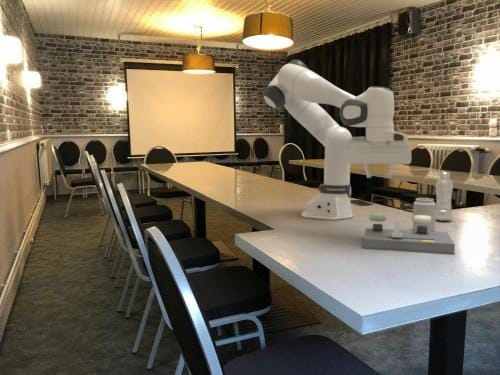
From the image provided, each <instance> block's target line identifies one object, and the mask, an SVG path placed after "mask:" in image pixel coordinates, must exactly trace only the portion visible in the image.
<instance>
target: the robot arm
mask: <svg viewBox="0 0 500 375" xmlns="http://www.w3.org/2000/svg"><path fill="white" fill-rule="evenodd" d="M262 97H263V99H264V101H265V103H266V104H267V105H268V106H270V107H272V108H273V109H275V110H277V109H281V108H283V107H284V108H285V109H286V111H287V112H288V113H289V115H290V116H292V117H293V118H294V119H295V120H296V121H297V123H298V124H300V125H301V126H302V127H303V128H304V129H306V130H307V131H308V132H309V133H310V134H311V135H312V136H313V137H314V138H315V139H316V140H317V141H318V142H320V144H322V146H323V147H324V164H323V168H324V169H323V170H324V171H323V183H321V184H320V185H319V187H318V188H319V189H318V191H319V193H317V194H316V195H315V196H313V197H311V199H310V200H309V201H308V202H307V204H306V208H305V210H304V211H302V212H301V213H300V214H301V217H302V218H306V219H307V218H308V219H319V220H320V219H321V220H330V221H331V220H333V221H335V220H336V221H337V220H338V221H339V220H344V219H350V218H353V217H354V214H353V210H352V203H350V200H351V196H352V185H351V182H350V180H351V165H362V166H363V169H364V171H365V173H366V179H367V178H368V179H369V178H371V179H372V172H371V171H369V169H368V167H369V165H389V168H390V169H389V171H386V173H385V178H387V179H392V173H393V171H394V169H396V168H395V165H410V164H411V163H412V151H411V150H412V149H411V146H410V144H409V142H407V141H408V140H409V136H408V134H406V133H402V132H400V131H395V126H394V125H395V124H394V115H395V97H394V92H393V91H392V89H391V88H389V87H385V86H384V87H383V86H369V87H368V88H367V90H365V91H364V92H363V93H361V94H359V95H357V96H356V95H354V94H352V93H349V92H348V91H346V90H343V89H341V88H340V87H337V86H336V85H334V84H333V83H331V82H330V81H328V80H327V79H325V78H324V77H323V76H320V75H319V74H318V73H316V72H314V71H312V70H310V69H309V67H308V66H307V65H306V64H305V63H304V62H303V61H301V60H299V59H293V60H291V61H289V62H287V64H284V65H283V66H282V67H281V68H280V69H279V71H278V72H277V73H276V75H275V76H274V78H273V79H272V80H271V81H270V82H269V84H268V85H267V86H266V87H265V88H264V90H263V91H262ZM319 104H324V105H331V106H334V107H336V108H339V117H340V121H341V122H342V123H343V124H344V125H345V126H348V127H352V128H353V127H355V128H365V135H364V136H361V135H360V136H352V134H351V132H350V131H349V130H348V129H347V128H346V127H343V126H340V124H339V123H337V121H335V120H334V119H333V118H332V116H331V115H330V114H329V113H328V112H327V111H326V110H325V109H324V108H323V107H322V106H320V105H319Z"/></svg>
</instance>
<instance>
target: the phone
mask: <svg viewBox="0 0 500 375" xmlns="http://www.w3.org/2000/svg"><path fill="white" fill-rule="evenodd" d="M350 203H351V204H352V203H353V204H352V205H355V206H358V207H371V206H370V205H373V206H374V203H372V202H370V201H366V200H363V199H350Z"/></svg>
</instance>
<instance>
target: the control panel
mask: <svg viewBox="0 0 500 375" xmlns="http://www.w3.org/2000/svg"><path fill="white" fill-rule="evenodd" d="M383 226H384V225H383V224H381V223H373V224H372V227H365V230H364V234H363V240H362V241H363V242H362V243H363V244H362V245H363V246H362V247H363V249H371V250H372V249H373V250H388V251H403V252H418V253H432V254H433V253H434V254H450V255H455V246H456V244H455V243H454V240H453V239H452V237H451V236H450V234H449V233H448V231H435V230H434V231H427V227H426V226H417V231H415V230H414V229H412V230H410V229H400V233H402V235H403V238H397V237H392V232H395V228H394V229H393V228H391V229H390V228H383Z"/></svg>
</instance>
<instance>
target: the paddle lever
mask: <svg viewBox="0 0 500 375" xmlns="http://www.w3.org/2000/svg"><path fill="white" fill-rule="evenodd" d="M400 227H401V219H400V218H394V229H395V232H392V237H397V238H403V235H402V233H400V230H401V228H400Z"/></svg>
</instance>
